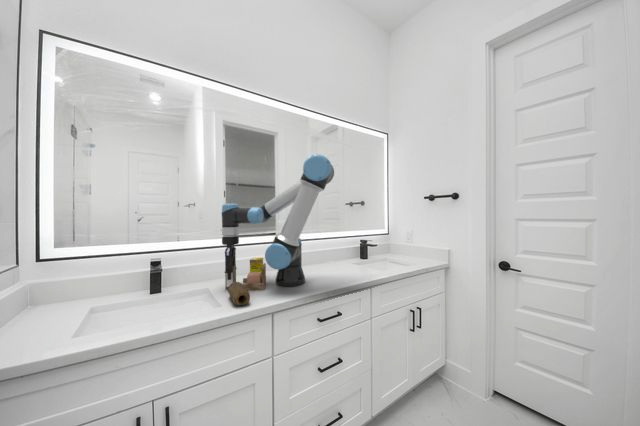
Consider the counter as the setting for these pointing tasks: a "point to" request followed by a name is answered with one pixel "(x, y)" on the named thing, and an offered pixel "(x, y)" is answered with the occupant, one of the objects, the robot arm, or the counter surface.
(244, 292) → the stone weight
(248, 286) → the wooden stand
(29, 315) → the counter surface
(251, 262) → the supplement box
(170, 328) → the counter surface
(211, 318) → the counter surface
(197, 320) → the counter surface
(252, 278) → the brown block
